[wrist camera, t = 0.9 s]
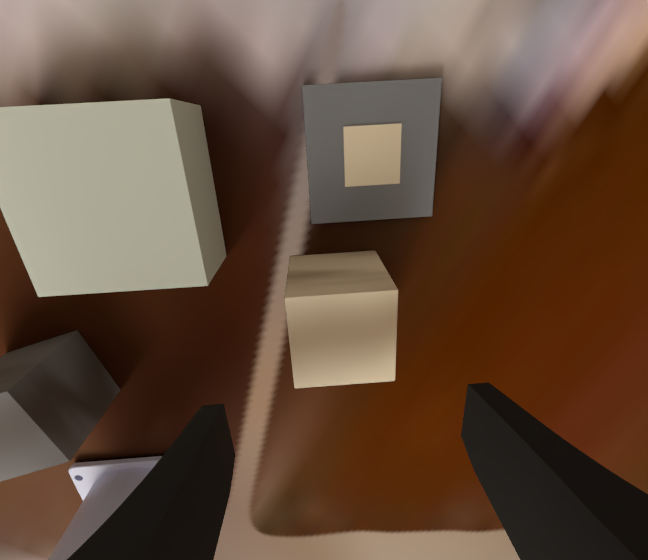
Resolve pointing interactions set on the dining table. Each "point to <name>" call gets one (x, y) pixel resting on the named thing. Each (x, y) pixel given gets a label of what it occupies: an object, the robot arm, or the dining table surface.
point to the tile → (371, 149)
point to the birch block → (341, 319)
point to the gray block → (49, 402)
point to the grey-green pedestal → (110, 195)
